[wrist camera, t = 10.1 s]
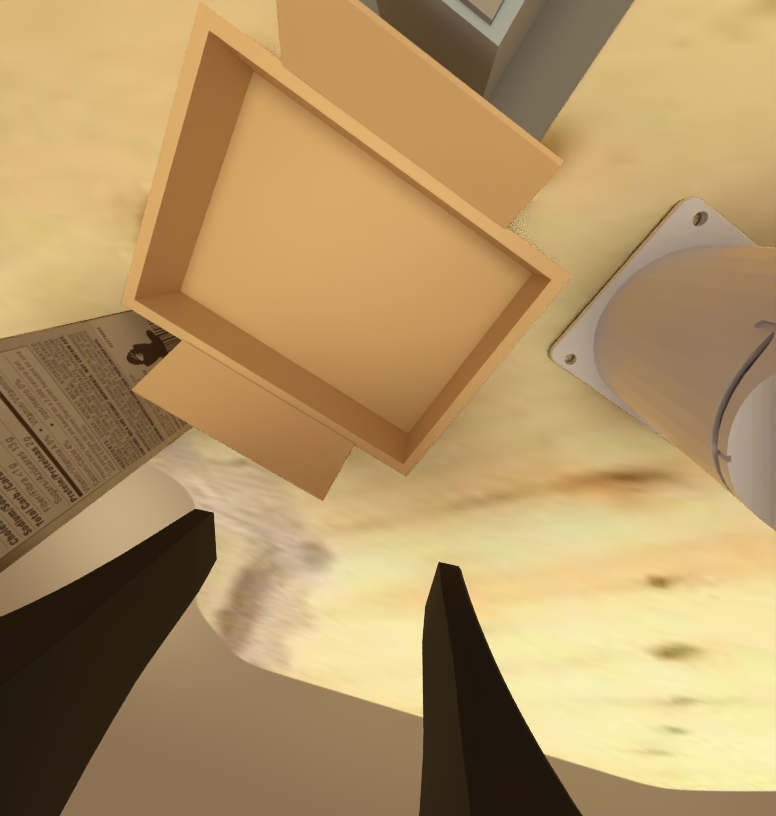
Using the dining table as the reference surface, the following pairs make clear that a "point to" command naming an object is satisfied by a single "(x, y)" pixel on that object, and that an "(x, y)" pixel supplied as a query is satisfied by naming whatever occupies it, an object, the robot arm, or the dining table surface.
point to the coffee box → (75, 420)
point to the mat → (551, 59)
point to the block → (465, 34)
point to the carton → (333, 243)
